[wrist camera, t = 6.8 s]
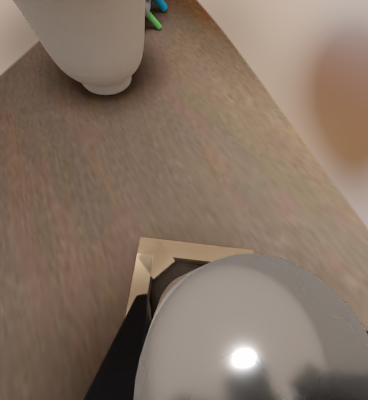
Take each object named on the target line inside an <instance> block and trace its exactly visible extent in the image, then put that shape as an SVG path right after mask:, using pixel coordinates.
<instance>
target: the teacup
mask: <svg viewBox="0 0 368 400" xmlns="http://www.w3.org/2000/svg"><path fill="white" fill-rule="evenodd" d="M13 1H14V2H15V4H16V5H17V6H18V8H19V9H20V11H21V12H22V14H23V15H24V17H25V18H26V20H27V21H28V23H29V25H30V26H31V28H32V29H33V31H34V32H35V34H36V36H37V37H38V39H39V40H40V42H41V43H42V45H43V46H44V48H45V50H46V51H47V52H48V54H49V55H50V57H51V58H52V59H53V61H54V62H55V63H56V64H57V65H58V66H59V68H60V69H61V70H62V71H63V72H65V73H66V74H67V75H68V76H70V77H71V78H73V79H74V80H76V81H78V82H81V83H82V84H83V86H84V87H85V88H86V89H87V90H89V91H90V92H92V93H95V94H100V95H112V94H117V93H119V92H122V91H123V90H125V89H126V88H127V87H128V86H129V84H130V83H131V79H132V75H133V74H134V73H135V71H136V70H137V68H138V67H139V65H140V63H141V60H142V56H143V50H144V34H145V0H13Z"/></svg>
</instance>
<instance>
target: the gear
mask: <svg viewBox="0 0 368 400" xmlns="http://www.w3.org/2000/svg"><path fill="white" fill-rule="evenodd" d="M153 1H154V2H155V3H156V5H157V6H158V7H159V8H160V10H161V11H162V12H165V11H166V9H167V5H166V3H165V2H164V1H163V0H153ZM150 7H151V0H145V17H147V18H148V19H149V20H150V22H151V23H152V24H153V25H154V26H155V27H156V28H157V30H159V29H160V28H161V24H160V23H159V22H158V21H157V19H156V18H155V17H154V16H153V15H152V13H151V12H150Z"/></svg>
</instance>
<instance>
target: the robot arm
mask: <svg viewBox="0 0 368 400" xmlns="http://www.w3.org/2000/svg"><path fill="white" fill-rule="evenodd" d="M150 325H151V309H150V303H149V297H148V294H146V293H145V294H140V295H137V296H136V297H135V299H134V301H133V303H132V305H131V307H130V309H129V311H128V313H127V315H126V317H125V319H124V321H123V323H122V325H121V327H120V329H119V331H118V333H117V335H116V337H115V339H114V341H113V342H112V344H111V346H110V348H109V350H108V352H107V354H106V356H105V358H104V360H103V362H102V364H101V366H100V368H99V370H98V372H97V374H96V376H95V378H94V380H93V382H92V384H91V386H90V388H89V390H88V392H87V394H86V396H85V397H84V399H83V400H133V399H134V389H135V379H136V374H137V369H138V364H139V359H140V355H141V352H142V349H143V346H144V342H145V339H146V336H147V334H148V331H149V328H150ZM366 332H367V334H368V331H366Z"/></svg>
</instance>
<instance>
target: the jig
mask: <svg viewBox="0 0 368 400" xmlns="http://www.w3.org/2000/svg"><path fill="white" fill-rule="evenodd" d="M238 254H254V250H246V249H238V248H229V247H221V246H213V245H204V244H196V243H187V242H179V241H170V240H162V239H153V238H145V237H140V241H139V247H138V252H137V257H136V263H135V268H134V273H133V279H132V284H131V289H130V295H129V300H128V305H127V311H126V315H127V313H128V311H129V309H130V307H131V305H132V303H133V301H134V299H135V297H136V296H137V295H140V294H145V293H146V294H148V297H149V300H150V294H151V287H152V280H153V279H157V278H158V277H159V276H160V275H161V274H163V273H164V272H165V271H166V270H167V269H169V268H170V267H171V266H172V265H173V264H174V262H181V263H189V264H198V265H206V264H208V263H210V262H213V261H215V260H218V259H220V258H224V257H228V256H232V255H238ZM125 317H126V316H125Z"/></svg>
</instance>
